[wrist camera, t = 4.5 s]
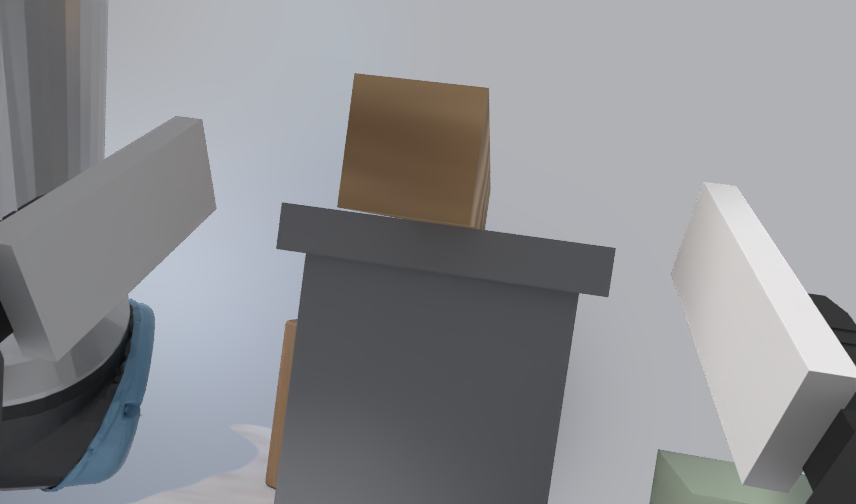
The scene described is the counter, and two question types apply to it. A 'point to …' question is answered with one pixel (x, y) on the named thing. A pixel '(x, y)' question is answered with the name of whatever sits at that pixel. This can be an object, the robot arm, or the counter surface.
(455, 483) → the stand
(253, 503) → the counter surface
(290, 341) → the wooden block
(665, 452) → the green block
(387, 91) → the oak bar
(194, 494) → the counter surface
